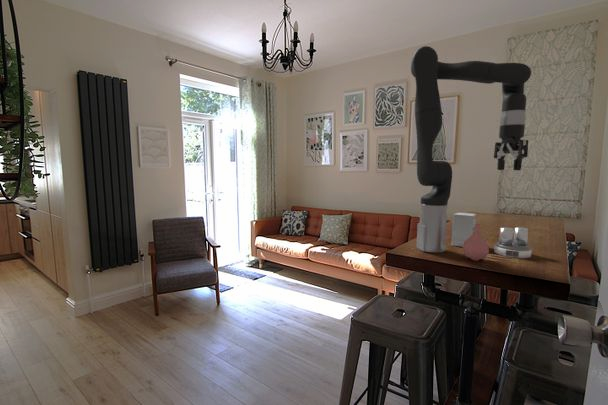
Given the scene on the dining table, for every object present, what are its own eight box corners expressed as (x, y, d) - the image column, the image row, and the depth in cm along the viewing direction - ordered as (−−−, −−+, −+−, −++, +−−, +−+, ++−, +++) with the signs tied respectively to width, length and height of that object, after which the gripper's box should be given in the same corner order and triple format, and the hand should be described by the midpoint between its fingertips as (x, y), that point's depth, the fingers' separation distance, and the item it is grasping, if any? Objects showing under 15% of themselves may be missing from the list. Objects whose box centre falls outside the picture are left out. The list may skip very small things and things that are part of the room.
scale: (507, 258, 108) (508, 248, 107) (487, 249, 119) (488, 241, 118) (539, 257, 108) (540, 248, 108) (516, 249, 119) (516, 241, 119)
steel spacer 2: (529, 246, 111) (531, 229, 110) (518, 246, 111) (520, 229, 110) (521, 243, 115) (522, 227, 114) (510, 243, 115) (512, 227, 114)
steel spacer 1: (514, 246, 111) (516, 229, 110) (503, 246, 111) (505, 229, 110) (507, 243, 115) (508, 227, 114) (496, 243, 115) (497, 227, 114)
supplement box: (471, 248, 121) (473, 215, 119) (450, 245, 125) (452, 214, 124) (474, 244, 126) (476, 213, 125) (454, 241, 131) (456, 212, 130)
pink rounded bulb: (458, 256, 110) (460, 222, 108) (481, 256, 109) (483, 222, 108) (467, 262, 102) (470, 226, 101) (492, 263, 101) (495, 227, 100)
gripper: (538, 122, 105) (533, 170, 107) (508, 127, 119) (505, 169, 121) (516, 121, 105) (512, 170, 107) (489, 126, 119) (486, 169, 121)
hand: (508, 170), depth 114 cm, fingers open, 8 cm apart
